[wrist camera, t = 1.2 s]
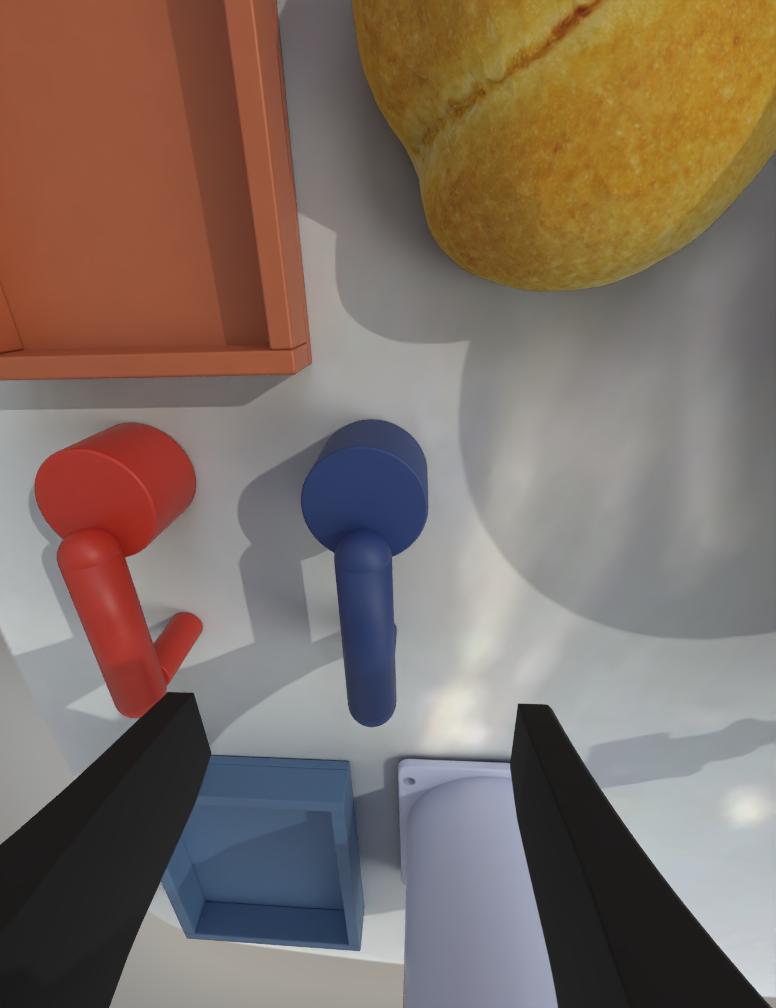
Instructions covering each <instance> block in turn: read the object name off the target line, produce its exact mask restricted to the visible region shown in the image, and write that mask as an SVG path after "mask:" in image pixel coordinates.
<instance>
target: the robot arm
mask: <svg viewBox="0 0 776 1008" xmlns="http://www.w3.org/2000/svg"><path fill="white" fill-rule="evenodd" d="M210 757H211V750H210V747H209V744H208V740H207V737H206V733H205V730H204V727H203V723H202V720H201V716H200V713H199V710H198V706H197V703H196V700H195V696H194V693H178V692H167V693H166V694H165V695H164V696H163V697H162V698H161V699H160V700H159V701H158V702H157V703H156V704H155V705H153V706H152V707H151V708H150V709H149V710H148V711H147V712H146V713H145V714H144V715H143V716H142V717H141V718H140V719H139V720H138V721H137V722H136V723H135V724H134V725H132V726H131V727H130V728H129V729H128V730H127V731H126V732H125V733H124V734H123V735H122V736H121V737H120V738H119V739H118V740H117V741H116V742H115V743H114V744H113V745H112V746H111V747H109V748H108V749H107V750H106V751H105V752H104V753H103V754H102V755H101V756H100V757H99V758H98V759H97V760H96V761H95V762H93V763H92V764H91V765H90V766H89V767H88V768H87V769H86V770H85V771H84V772H83V773H82V774H81V775H79V776H78V777H77V778H76V779H75V780H74V781H73V782H72V783H71V784H70V785H69V786H68V787H66V789H64V790H63V791H62V792H61V793H60V794H59V795H58V796H56V797H55V798H54V799H53V800H52V801H51V802H49V803H48V804H47V805H46V806H45V807H44V808H43V809H42V810H40V811H39V812H38V813H37V814H36V815H35V816H34V817H32V818H31V819H30V820H29V821H28V822H27V823H25V824H24V825H23V826H22V827H21V828H20V829H19V830H18V831H16V832H15V833H14V834H13V835H12V836H10V837H9V838H8V839H7V840H5V841H4V842H3V843H2V844H1V845H0V1008H109V1006H110V1004H111V1000H112V998H113V995H114V992H115V990H116V987H117V985H118V982H119V979H120V976H121V973H122V971H123V968H124V965H125V962H126V960H127V957H128V955H129V952H130V950H131V947H132V945H133V942H134V940H135V938H136V935H137V933H138V931H139V928H140V926H141V923H142V921H143V919H144V917H145V915H146V912H147V910H148V908H149V906H150V904H151V901H152V899H153V897H154V895H155V893H156V890H157V888H158V886H159V884H160V881H161V879H162V877H163V875H164V873H165V870H166V868H167V866H168V864H169V862H170V859H171V857H172V855H173V853H174V850H175V848H176V846H177V844H178V842H179V839H180V837H181V835H182V833H183V830H184V828H185V826H186V824H187V821H188V819H189V817H190V814H191V812H192V810H193V808H194V805H195V803H196V800H197V797H198V794H199V791H200V788H201V785H202V782H203V779H204V776H205V773H206V770H207V766H208V763H209V760H210ZM398 796H399V826H400V856H401V880H402V882H403V883H404V884H405V885H406V913H405V951H404V992H403V1008H772V1007H770V1005H769V1004H768V1003H767V1002H766V1001H765V1000H764V999H763V997H762V996H761V995H760V994H759V993H758V992H757V991H756V990H755V988H754V987H753V986H752V985H751V984H750V983H749V982H748V980H747V979H746V978H745V977H744V976H743V974H742V973H741V972H740V971H739V970H738V969H737V967H736V966H735V965H734V964H733V963H732V962H731V960H730V959H729V958H728V957H727V956H726V954H725V953H724V952H723V951H722V950H721V949H720V947H719V946H718V945H717V944H716V943H715V941H714V940H713V939H712V938H711V937H710V935H709V934H708V933H707V932H706V930H705V929H704V928H703V927H702V926H701V924H700V923H699V922H698V921H697V919H696V918H695V917H694V916H693V914H692V913H691V912H690V911H689V910H688V908H687V907H686V906H685V905H684V903H683V902H682V901H681V899H680V898H679V897H678V896H677V894H676V893H675V892H674V891H673V889H672V888H671V887H670V885H669V884H668V883H667V881H666V880H665V879H664V877H663V876H662V875H661V874H660V872H659V871H658V870H657V868H656V867H655V865H654V864H653V863H652V861H651V860H650V859H649V857H648V856H647V855H646V853H645V852H644V851H643V849H642V848H641V847H640V845H639V844H638V843H637V841H636V840H635V838H634V837H633V835H632V834H631V833H630V831H629V830H628V828H627V827H626V826H625V824H624V823H623V821H622V820H621V818H620V817H619V816H618V814H617V813H616V811H615V810H614V808H613V807H612V805H611V804H610V802H609V801H608V799H607V798H606V796H605V795H604V793H603V792H602V791H601V789H600V788H599V786H598V785H597V783H596V781H595V780H594V778H593V777H592V775H591V774H590V772H589V771H588V769H587V767H586V766H585V764H584V763H583V761H582V759H581V758H580V756H579V755H578V753H577V751H576V750H575V748H574V747H573V745H572V743H571V742H570V740H569V738H568V736H567V735H566V733H565V731H564V730H563V728H562V726H561V724H560V723H559V721H558V719H557V717H556V716H555V714H554V712H553V710H552V709H551V708H550V707H549V706H548V705H543V704H518V709H517V717H516V724H515V732H514V740H513V747H512V755H511V762H510V763H499V762H475V761H451V760H427V759H404V760H402V761H401V762H400V763H399V764H398Z"/></svg>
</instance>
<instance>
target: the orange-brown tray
mask: <svg viewBox="0 0 776 1008" xmlns="http://www.w3.org/2000/svg"><path fill="white" fill-rule="evenodd" d="M311 363H312V356H311V346H310V336H309V326H308V316H307V306H306V295H305V285H304V275H303V265H302V255H301V245H300V235H299V225H298V214H297V204H296V194H295V184H294V174H293V164H292V154H291V144H290V133H289V123H288V113H287V103H286V93H285V83H284V73H283V63H282V52H281V42H280V32H279V22H278V12H277V2H276V0H0V380H45V379H94V378H144V377H194V376H243V375H293V374H296V373H297V372H299V371H300V370H302V369H303V368H305V367H306V366H307V365H309V364H311Z"/></svg>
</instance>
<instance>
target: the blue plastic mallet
mask: <svg viewBox="0 0 776 1008" xmlns="http://www.w3.org/2000/svg"><path fill="white" fill-rule="evenodd" d="M301 507H302V512H303V516H304V519H305V522H306V524H307V526H308V528H309V529H310V531H311V532H312V534H313V535H314V536H315V538H316V539H317V540H318V541H319V542H320V543H321V544H322V545H323V546H325V547H326V548H328V549H329V550H330V551H332V552H334V553H335V555H334V562H335V573H336V583H337V593H338V604H339V614H340V625H341V635H342V646H343V656H344V667H345V677H346V687H347V698H348V706H349V710H350V713H351V715H352V716H353V718H354V719H355V720H356V721H357V722H358V723H360V724H362V725H364V726H367V727H376V726H380V725H382V724H384V723H385V722H387V721H388V720H389V719H390V718H391V716H392V715H393V712H394V710H395V707H396V674H395V646H396V632H397V628H396V625H395V624H394V612H393V581H392V557H393V556H395V555H397V554H399V553H401V552H402V551H404V550H405V549H407V548H408V547H409V546H410V545H411V544H412V543H413V542H414V541H415V540H416V539H417V538H418V536H419V535H420V534H421V532H422V530H423V528H424V526H425V523H426V520H427V515H428V479H427V464H426V459H425V456H424V453H423V451H422V449H421V447H420V446H419V444H418V443H417V441H416V440H415V439H414V438H413V437H412V436H411V435H410V434H409V433H408V432H406V431H405V430H404V429H402V428H400V427H399V426H397V425H394V424H392V423H389V422H386V421H381V420H362V421H357V422H354V423H351V424H348V425H346V426H345V427H343V428H341V429H340V430H338V431H337V432H336V433H335V434H334V435H333V436H332V437H331V438H330V439H329V441H328V442H327V444H326V445H325V447H324V449H323V450H322V452H321V454H320V455H319V457H318V459H317V460H316V462H315V464H314V465H313V467H312V469H311V470H310V472H309V474H308V475H307V477H306V479H305V482H304V484H303V488H302V494H301Z"/></svg>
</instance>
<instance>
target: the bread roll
mask: <svg viewBox="0 0 776 1008" xmlns="http://www.w3.org/2000/svg"><path fill="white" fill-rule="evenodd" d="M352 8H353V15H354V23H355V30H356V37H357V44H358V49H359V54H360V58H361V63H362V67H363V72H364V74H365V76H366V79H367V81H368V84H369V86H370V88H371V91H372V93H373V96H374V98H375V100H376V103H377V105H378V107H379V109H380V111H381V112H382V114H383V116H384V117H385V119H386V121H387V122H388V124H389V126H390V127H391V129H392V131H393V132H394V133H395V135H396V136H397V137H398V138H399V140H400V141H401V143H402V144H403V145H404V147H405V148H406V150H407V152H408V155H409V157H410V159H411V161H412V163H413V165H414V168H415V170H416V173H417V175H418V178H419V182H420V193H421V198H422V203H423V207H424V212H425V216H426V220H427V224H428V227H429V229H430V232H431V233H432V235H433V236H434V238H435V240H436V241H437V243H438V245H439V246H440V248H441V249H442V250H443V251H444V252H445V253H446V254H447V255H448V256H449V257H450V258H451V259H452V260H453V261H454V262H455V263H456V264H457V265H459V266H460V267H462V268H464V269H465V270H467V271H469V272H470V273H472V274H474V275H477V276H479V277H482V278H484V279H487V280H490V281H492V282H496V283H499V284H502V285H506V286H510V287H514V288H519V289H523V290H532V291H563V290H579V289H587V288H594V287H600V286H604V285H608V284H612V283H615V282H618V281H620V280H623V279H625V278H627V277H630V276H632V275H634V274H637V273H639V272H641V271H643V270H645V269H647V268H648V267H650V266H652V265H654V264H655V263H657V262H659V261H661V260H662V259H664V258H666V257H668V256H670V255H671V254H673V253H675V252H677V251H679V250H680V249H682V248H683V247H685V246H686V245H687V244H689V243H690V242H692V241H693V240H695V239H696V238H697V237H698V236H700V235H701V234H702V233H703V232H704V231H705V230H706V229H707V228H709V227H710V226H711V225H712V224H713V223H714V222H715V221H716V220H717V219H718V218H719V217H720V216H721V215H722V214H723V213H724V212H725V211H726V210H727V209H728V207H729V206H730V205H731V204H732V203H733V202H734V201H735V200H736V199H737V198H738V196H739V195H740V194H741V193H742V192H743V191H744V189H745V188H746V187H747V186H748V185H749V184H750V183H751V182H752V181H753V179H754V178H755V177H756V175H757V174H758V173H759V172H760V170H761V169H762V168H763V167H764V165H765V164H766V163H767V161H768V160H769V159H770V158H771V156H772V155H773V153H774V152H775V150H776V0H352Z"/></svg>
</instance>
